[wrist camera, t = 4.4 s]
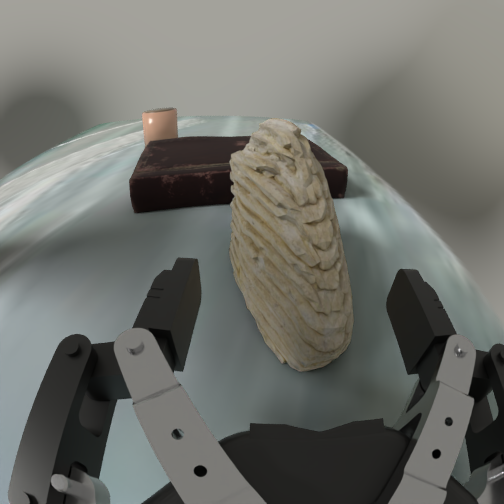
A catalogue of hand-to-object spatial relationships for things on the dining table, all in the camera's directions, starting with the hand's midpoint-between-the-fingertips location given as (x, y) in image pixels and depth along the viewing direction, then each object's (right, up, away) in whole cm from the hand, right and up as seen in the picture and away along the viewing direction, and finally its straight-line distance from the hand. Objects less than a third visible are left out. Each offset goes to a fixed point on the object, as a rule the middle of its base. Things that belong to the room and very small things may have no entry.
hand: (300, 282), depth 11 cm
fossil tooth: (0, -2, +9) cm, 10 cm away
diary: (-4, +11, +29) cm, 31 cm away
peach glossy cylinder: (-20, +23, +43) cm, 53 cm away
